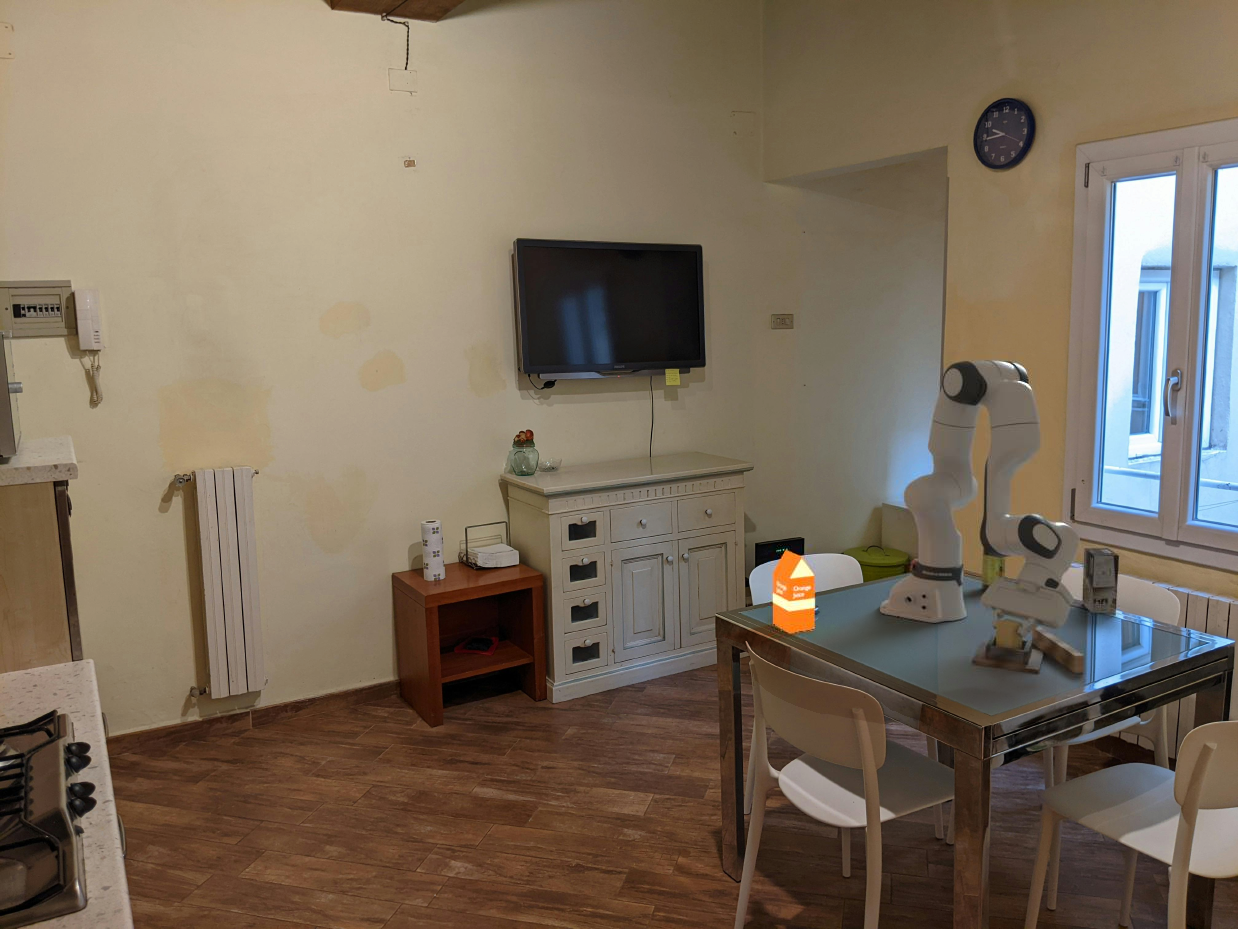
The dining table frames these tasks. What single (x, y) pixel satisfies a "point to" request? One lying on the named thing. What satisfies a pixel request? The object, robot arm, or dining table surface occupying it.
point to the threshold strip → (1058, 650)
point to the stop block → (1008, 634)
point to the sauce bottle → (991, 569)
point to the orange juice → (793, 594)
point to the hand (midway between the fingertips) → (1007, 632)
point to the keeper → (1009, 656)
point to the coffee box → (1100, 580)
